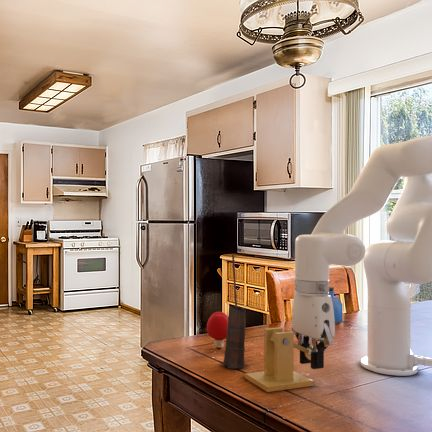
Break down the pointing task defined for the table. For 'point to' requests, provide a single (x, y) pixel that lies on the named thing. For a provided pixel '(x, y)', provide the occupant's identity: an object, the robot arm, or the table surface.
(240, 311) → the butter churn
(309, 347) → the switch lever
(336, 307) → the perfume bottle
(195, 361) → the table surface
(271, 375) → the bracket
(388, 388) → the table surface
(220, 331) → the red rounded lump
